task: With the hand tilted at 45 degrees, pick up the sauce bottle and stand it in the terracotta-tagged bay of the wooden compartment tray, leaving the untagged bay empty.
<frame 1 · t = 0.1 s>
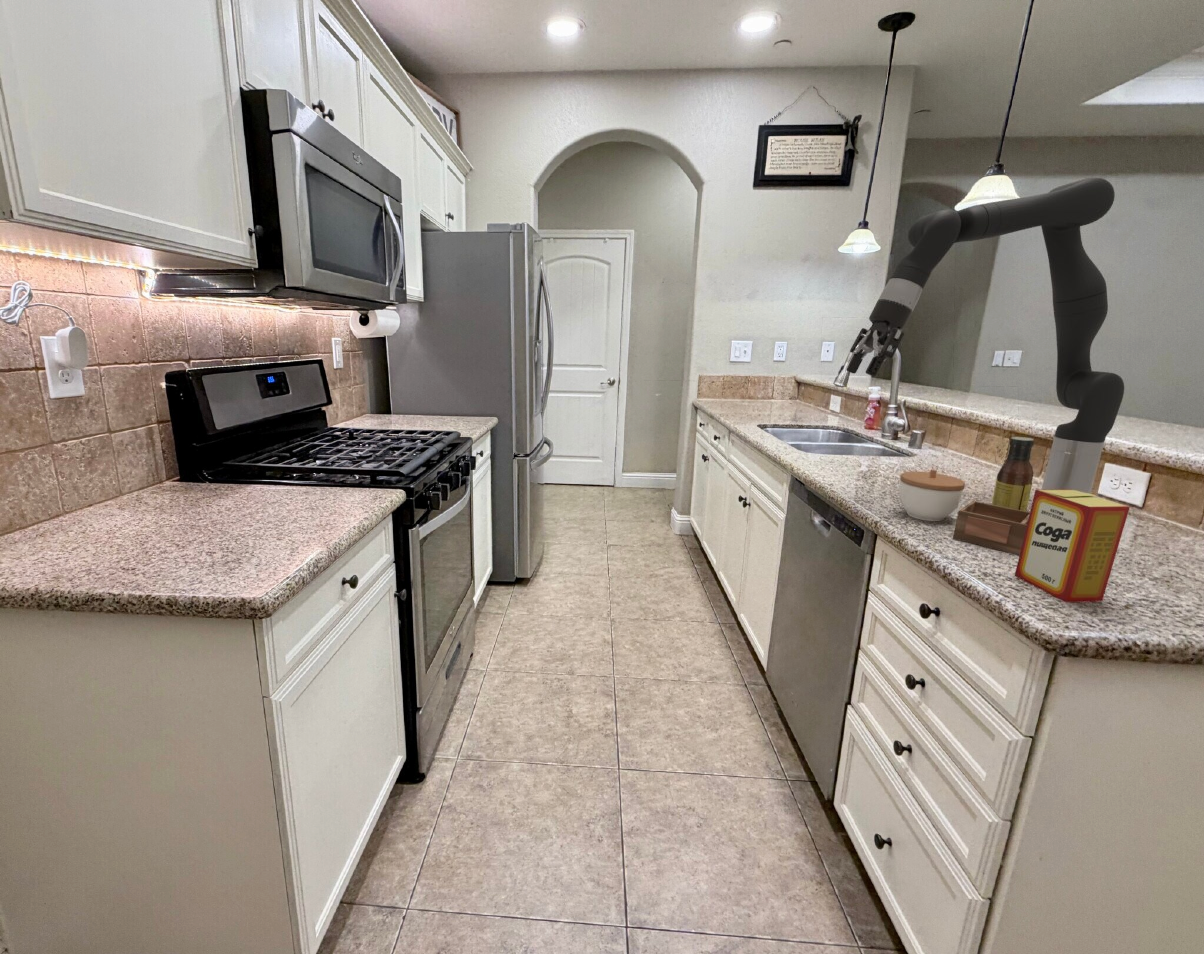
hand: (859, 373, 123), 31 cm above the worktop, tool tilted 20°, fingers open, 8 cm apart
wooden compartment tray: (1020, 546, 107), on the worktop
sauce bottle: (1003, 527, 119), on the worktop
baking soda box: (1056, 588, 90), on the worktop
white lidded bowl: (924, 517, 125), on the worktop
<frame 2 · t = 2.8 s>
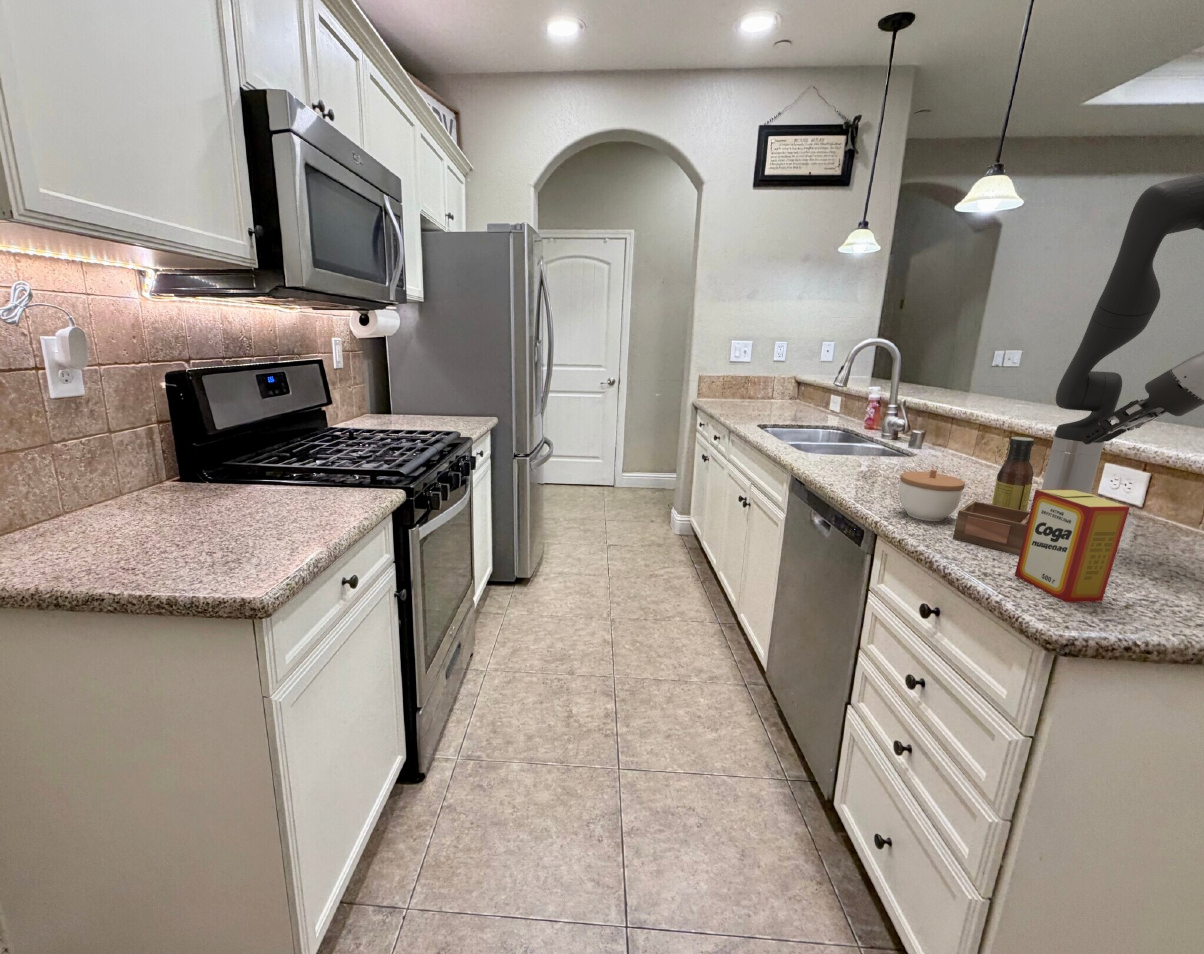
hand: (1092, 439, 104), 22 cm above the worktop, tool tilted 45°, fingers open, 8 cm apart
nothing on the worktop moved.
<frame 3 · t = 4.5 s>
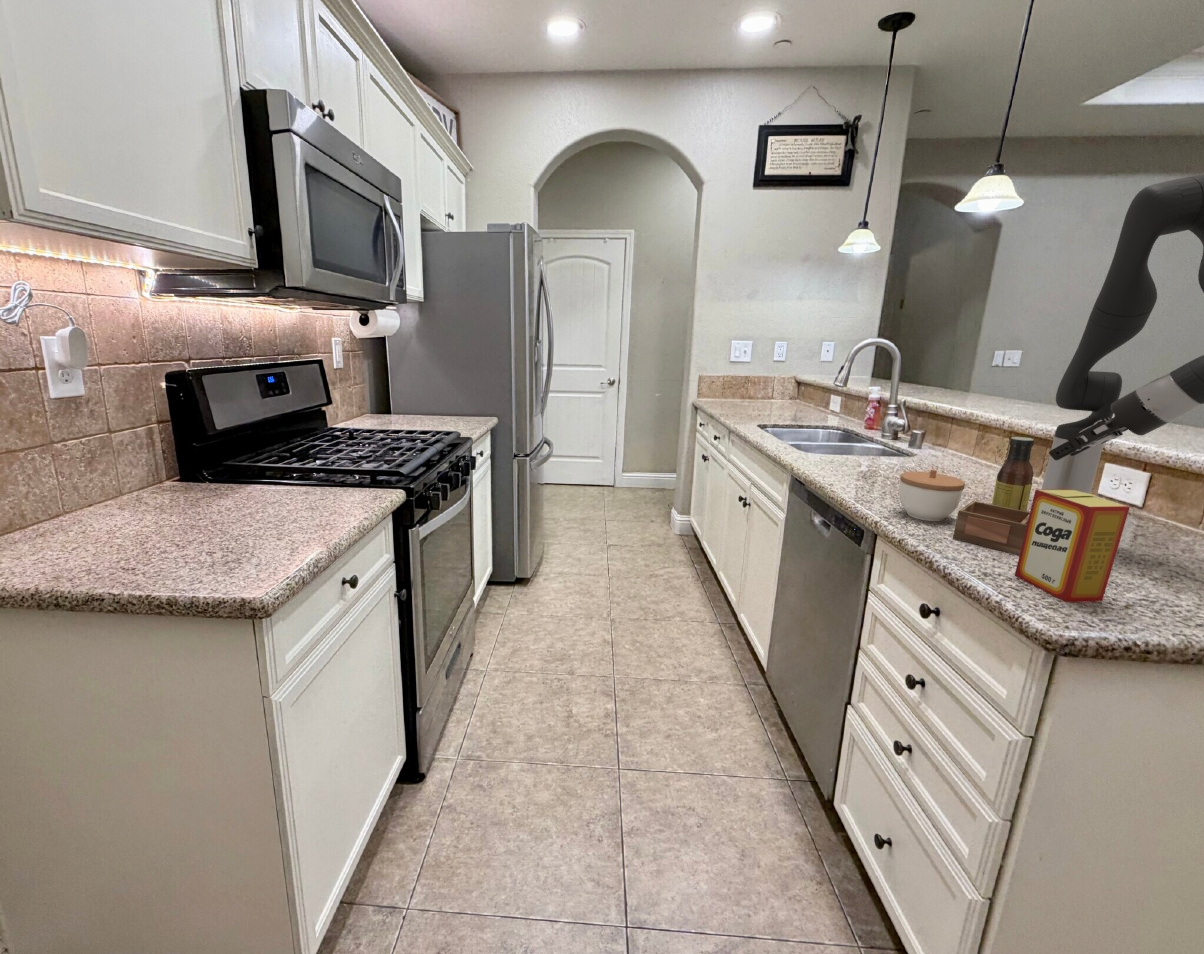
hand: (1060, 454, 109), 18 cm above the worktop, tool tilted 45°, fingers open, 8 cm apart
nothing on the worktop moved.
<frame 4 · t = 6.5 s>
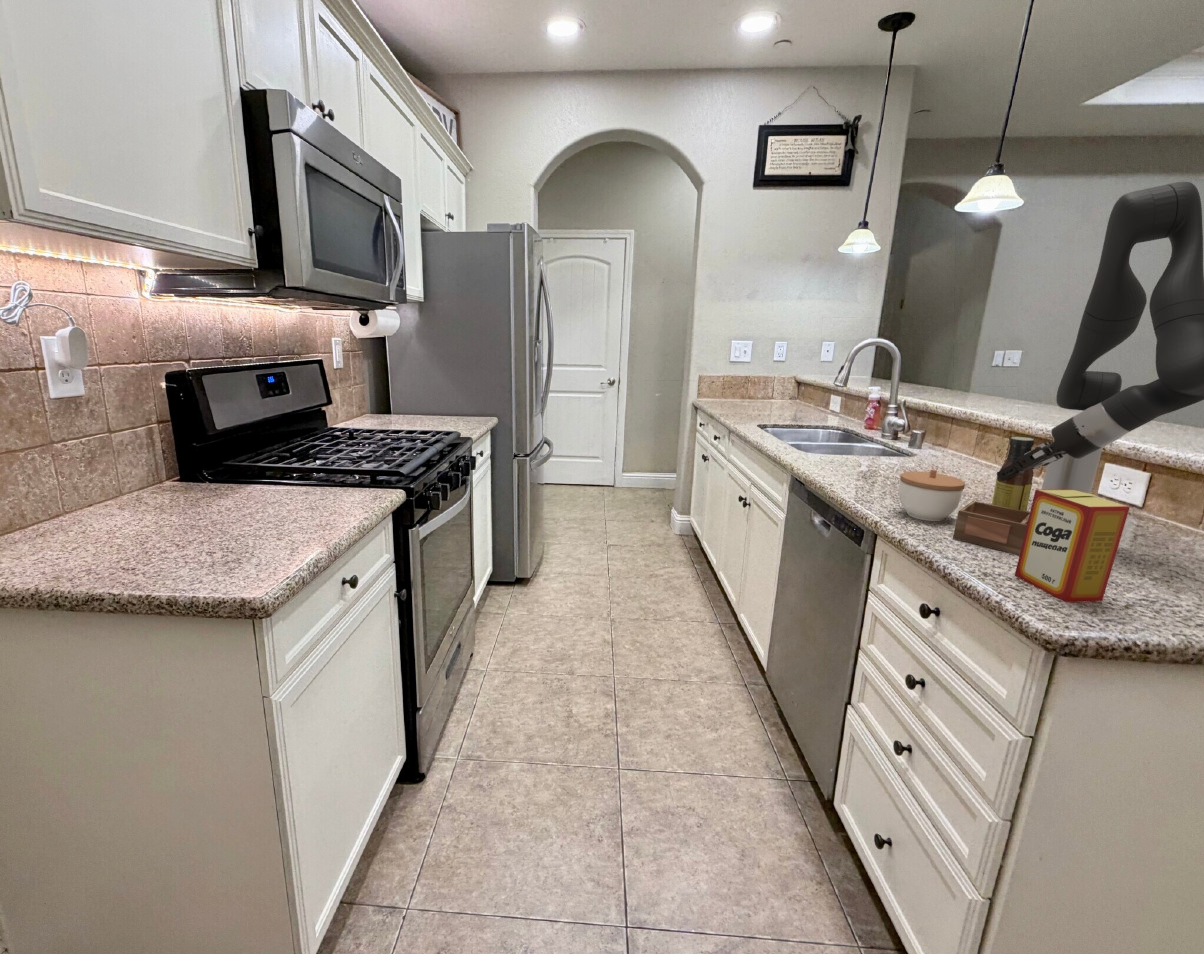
hand: (1006, 475, 117), 11 cm above the worktop, tool tilted 45°, fingers open, 6 cm apart
sauce bottle: (1003, 527, 119), on the worktop, touching gripper
everything else where it was.
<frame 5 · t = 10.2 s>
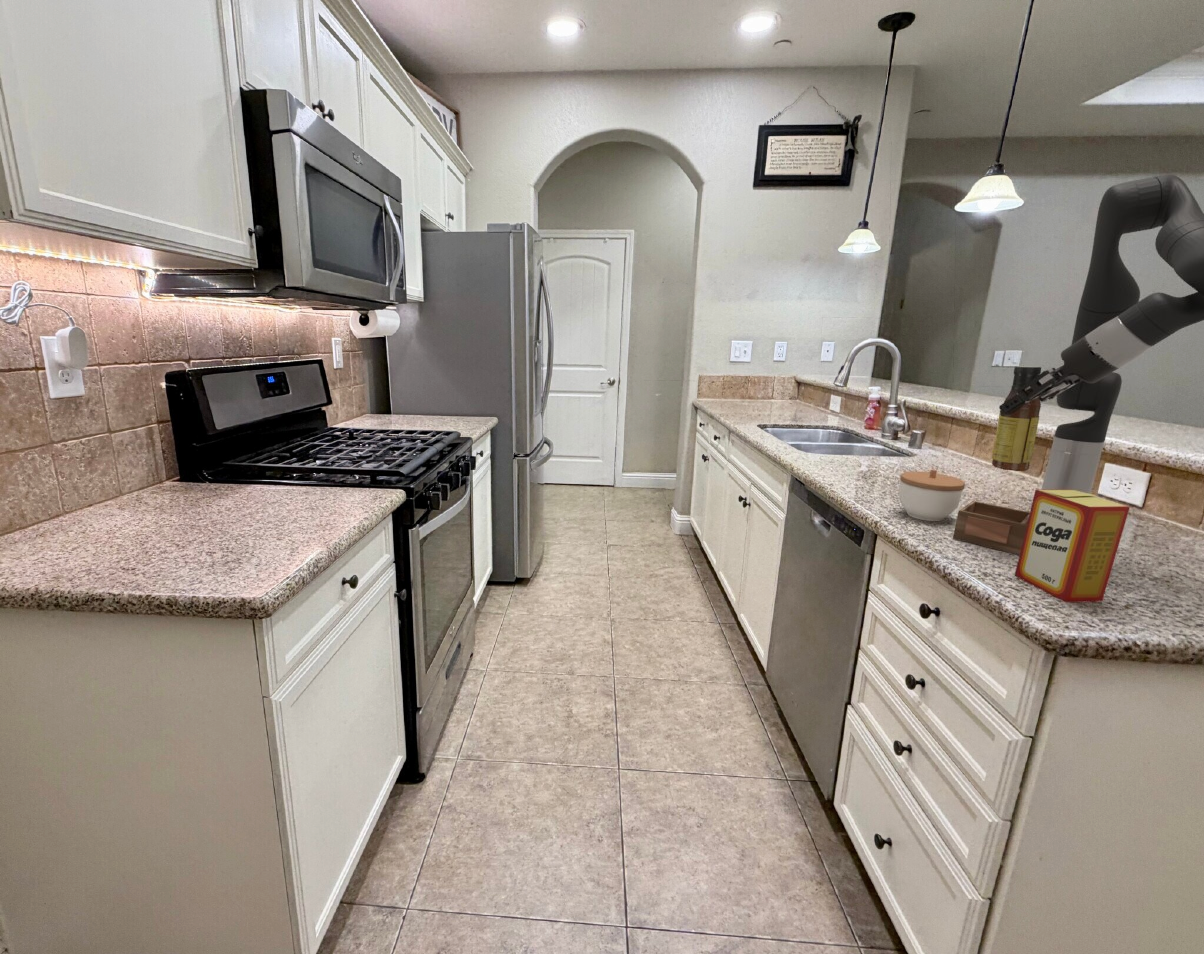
hand: (1010, 410, 105), 26 cm above the worktop, tool tilted 45°, fingers closed on sauce bottle, 6 cm apart
sauce bottle: (1007, 469, 107), point 15 cm above the worktop, touching gripper
everything else where it was.
when the fingers open (14 cm above the worktop, at t = 13.8 s): sauce bottle drops 1 cm, resting on wooden compartment tray.
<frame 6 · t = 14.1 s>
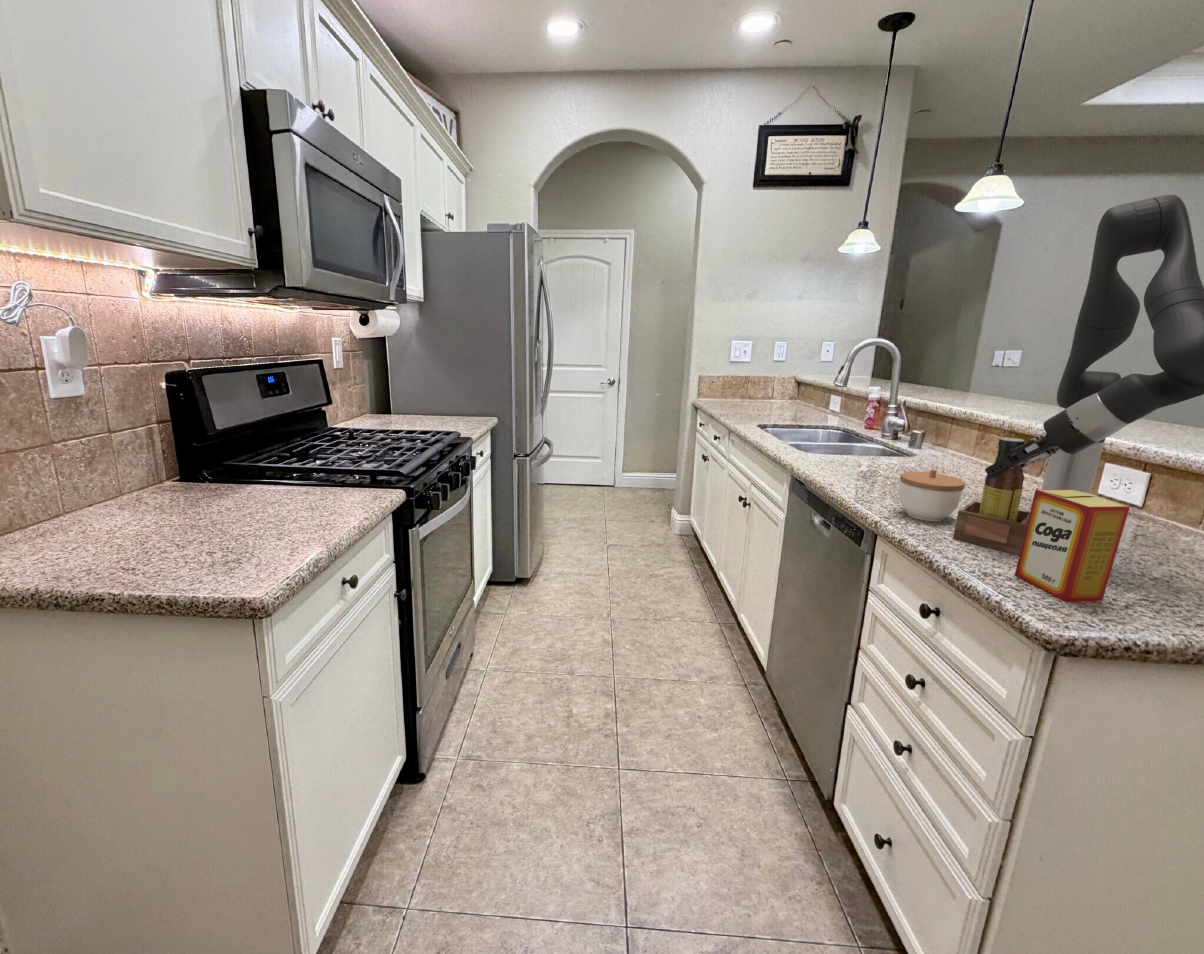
hand: (997, 471, 108), 14 cm above the worktop, tool tilted 45°, fingers open, 8 cm apart
sauce bottle: (992, 535, 110), point 1 cm above the worktop, touching wooden compartment tray
everything else where it was.
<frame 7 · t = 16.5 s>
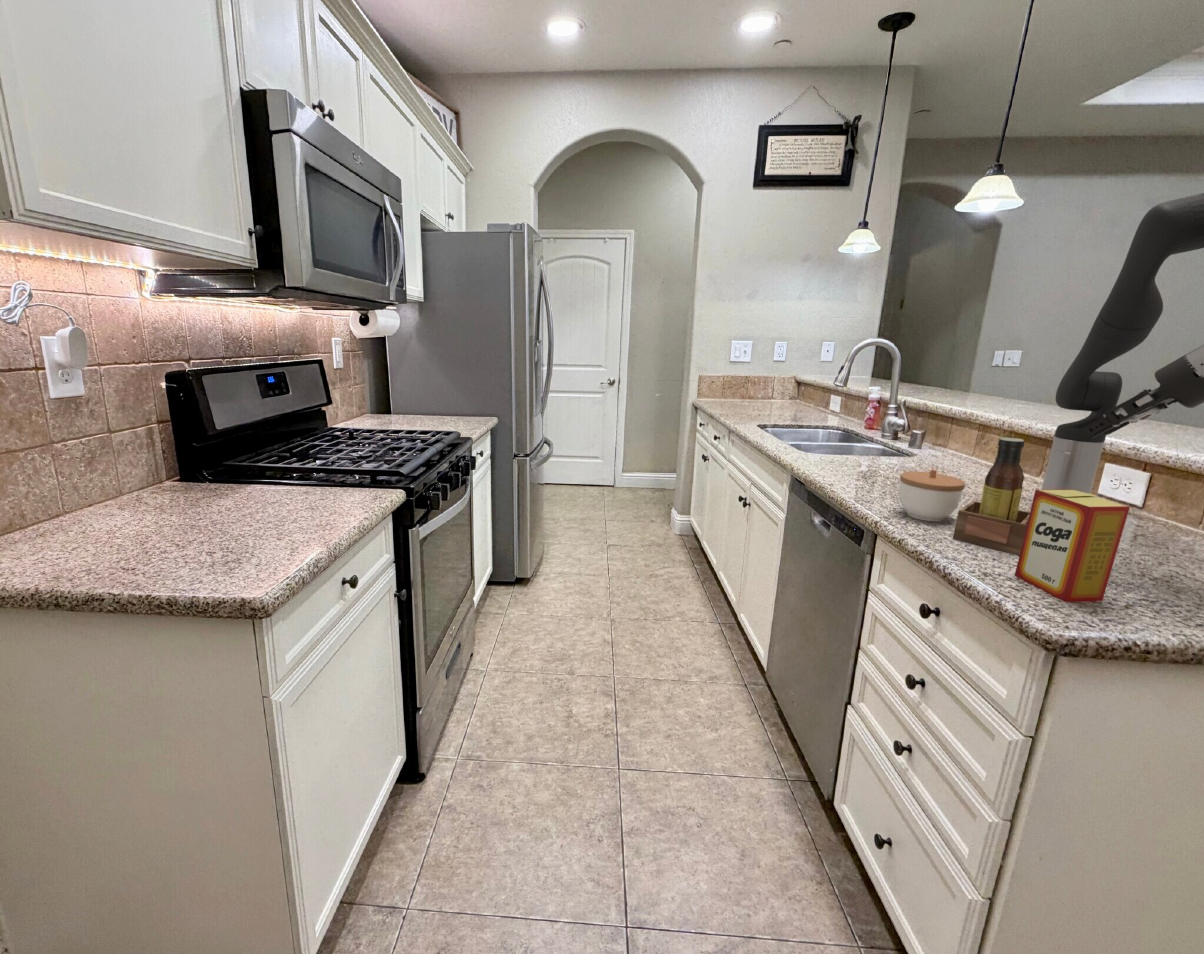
hand: (1093, 432, 95), 24 cm above the worktop, tool tilted 45°, fingers open, 8 cm apart
nothing on the worktop moved.
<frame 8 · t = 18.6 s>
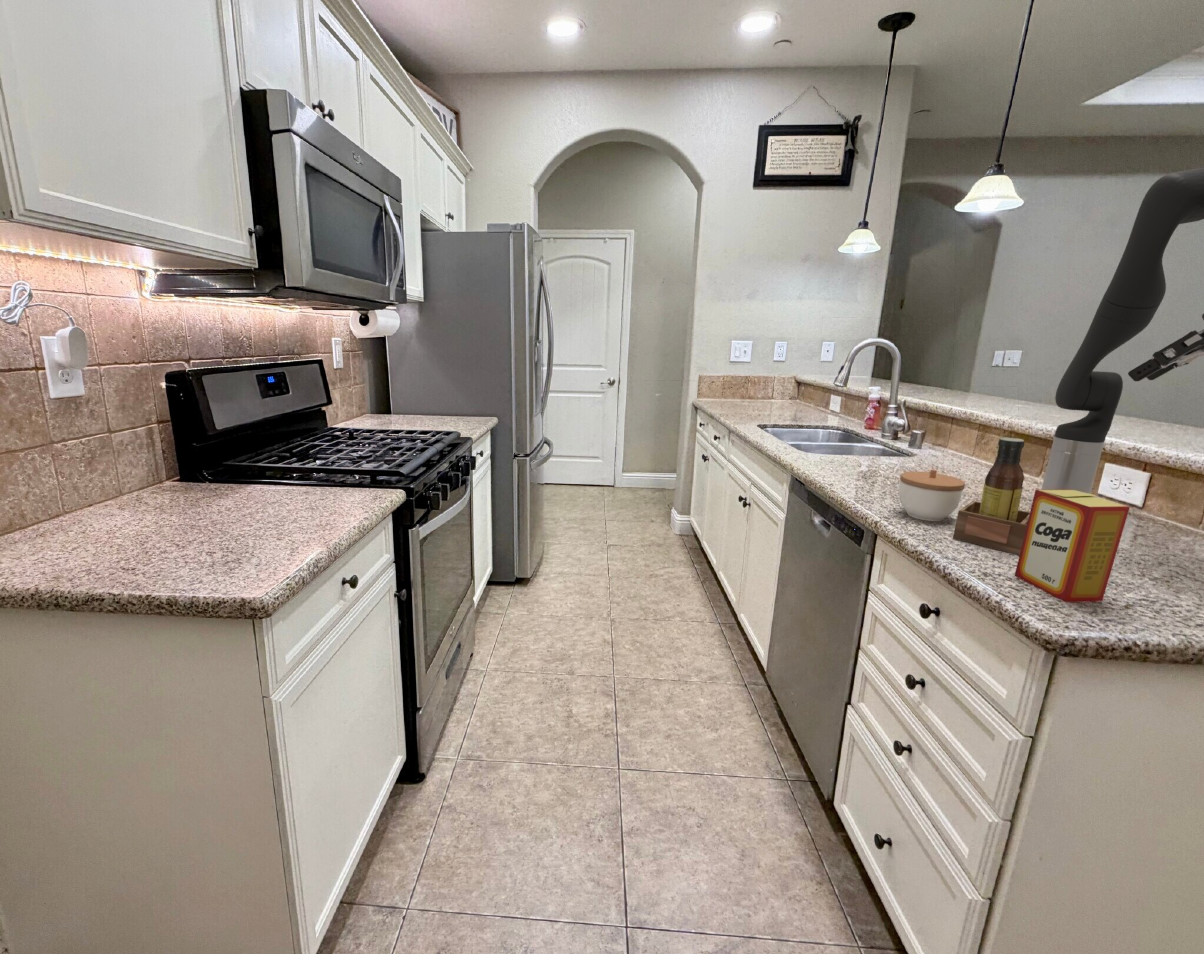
hand: (1139, 377, 99), 34 cm above the worktop, tool tilted 45°, fingers open, 8 cm apart
nothing on the worktop moved.
at the end: sauce bottle 0.2 cm from the target spot on the wooden compartment tray, point 1.0 cm above the wooden compartment tray's base; sauce bottle tilted 0°; the gripper is holding nothing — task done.
